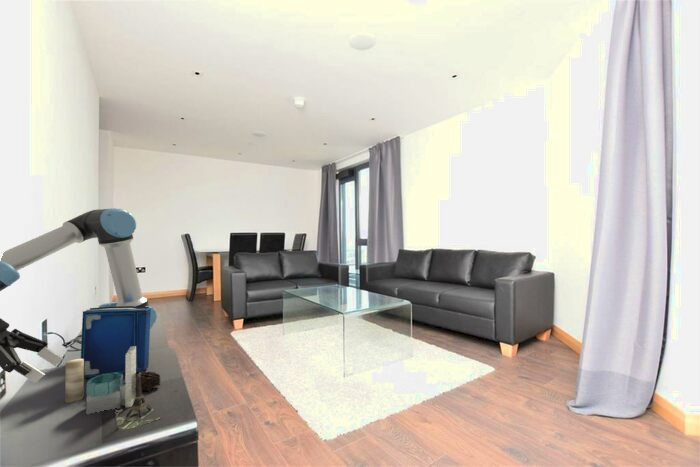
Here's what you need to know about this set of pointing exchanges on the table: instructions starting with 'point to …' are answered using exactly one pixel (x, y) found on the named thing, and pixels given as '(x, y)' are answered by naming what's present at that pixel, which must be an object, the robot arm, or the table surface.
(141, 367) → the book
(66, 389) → the beige wooden block
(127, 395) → the bracket
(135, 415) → the eiffel tower figurine
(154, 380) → the dark brown rounded block
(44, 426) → the table surface
